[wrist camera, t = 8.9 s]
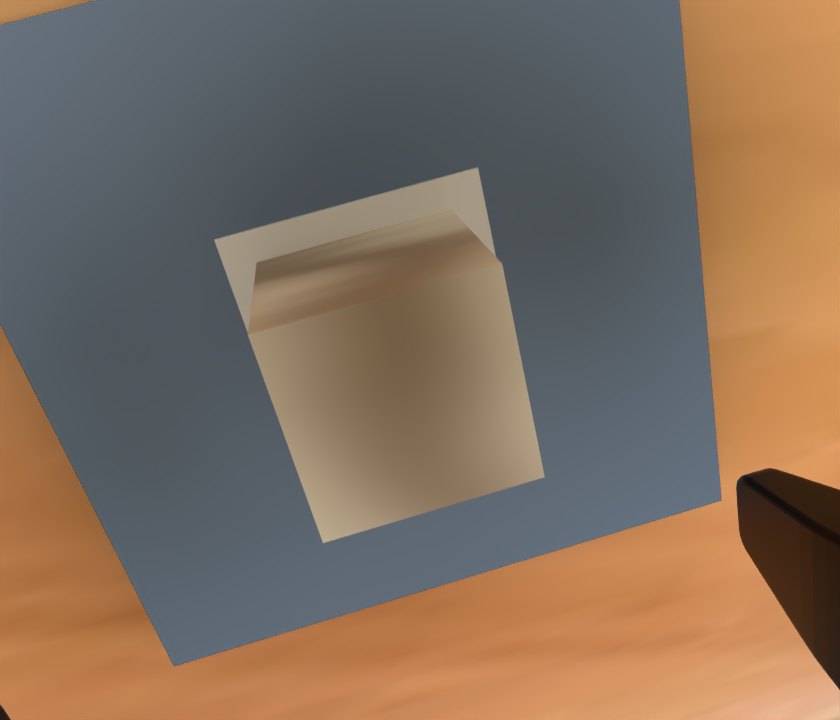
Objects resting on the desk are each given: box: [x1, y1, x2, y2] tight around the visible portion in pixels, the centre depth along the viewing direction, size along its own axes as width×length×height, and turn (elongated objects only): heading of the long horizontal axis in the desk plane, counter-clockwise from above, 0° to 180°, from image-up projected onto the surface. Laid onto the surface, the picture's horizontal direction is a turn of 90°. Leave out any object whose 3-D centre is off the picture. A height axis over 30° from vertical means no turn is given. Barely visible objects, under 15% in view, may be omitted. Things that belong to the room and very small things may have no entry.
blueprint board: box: [0, 0, 722, 666], centre depth 19 cm, size 16×16×1 cm
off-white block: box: [248, 209, 545, 543], centre depth 16 cm, size 4×4×4 cm
